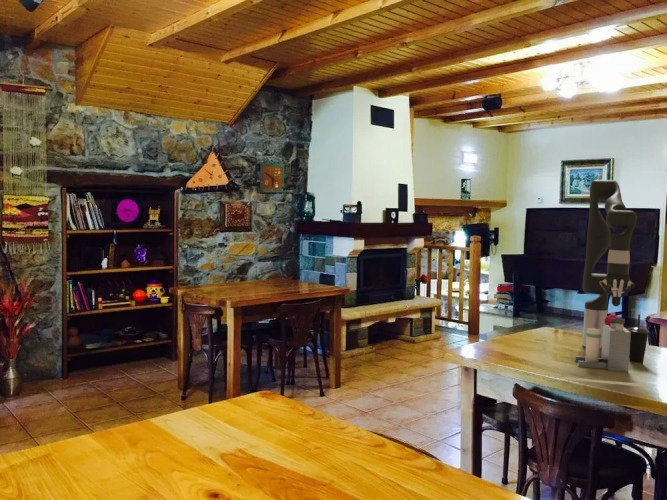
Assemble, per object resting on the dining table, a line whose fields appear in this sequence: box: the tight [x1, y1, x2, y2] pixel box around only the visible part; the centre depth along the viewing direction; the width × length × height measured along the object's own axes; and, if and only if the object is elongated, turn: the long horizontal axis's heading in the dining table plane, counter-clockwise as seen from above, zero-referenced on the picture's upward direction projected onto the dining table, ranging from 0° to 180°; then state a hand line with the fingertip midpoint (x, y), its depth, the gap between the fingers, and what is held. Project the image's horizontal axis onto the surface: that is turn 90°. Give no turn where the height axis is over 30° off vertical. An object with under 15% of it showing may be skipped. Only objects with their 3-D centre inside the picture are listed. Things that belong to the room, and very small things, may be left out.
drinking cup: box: [627, 314, 650, 365], centre depth 226 cm, size 8×8×20 cm
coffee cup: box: [584, 328, 601, 362], centre depth 218 cm, size 5×5×14 cm
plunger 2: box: [615, 317, 626, 332], centre depth 211 cm, size 3×3×6 cm
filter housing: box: [574, 325, 631, 373], centre depth 217 cm, size 12×17×16 cm
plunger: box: [610, 318, 616, 327], centre depth 219 cm, size 3×3×6 cm
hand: (615, 305), depth 219 cm, fingers closed
